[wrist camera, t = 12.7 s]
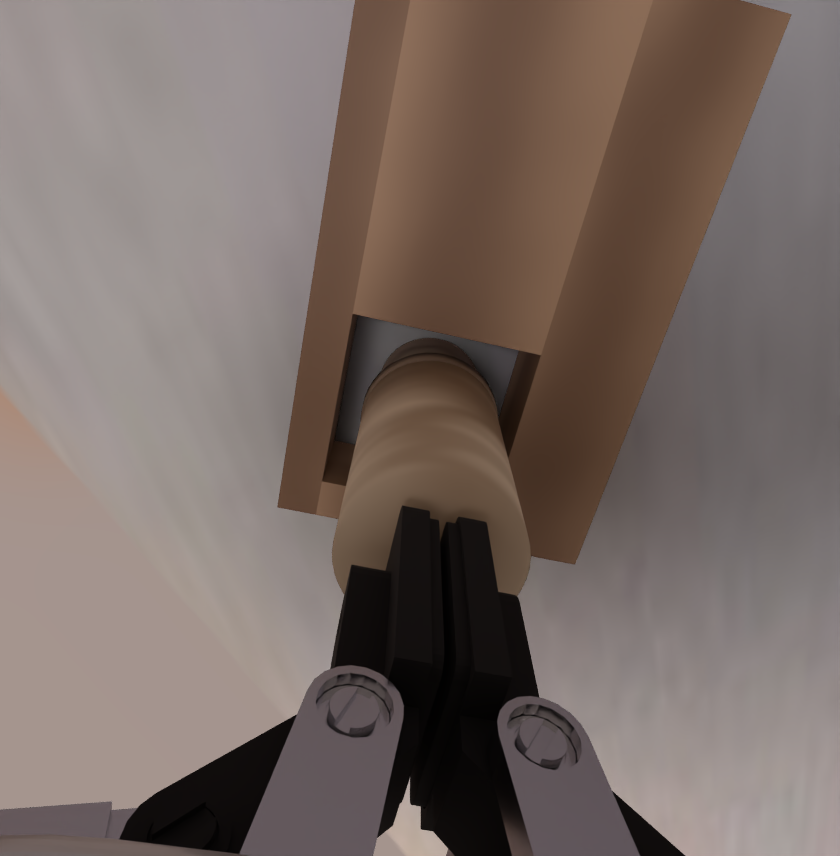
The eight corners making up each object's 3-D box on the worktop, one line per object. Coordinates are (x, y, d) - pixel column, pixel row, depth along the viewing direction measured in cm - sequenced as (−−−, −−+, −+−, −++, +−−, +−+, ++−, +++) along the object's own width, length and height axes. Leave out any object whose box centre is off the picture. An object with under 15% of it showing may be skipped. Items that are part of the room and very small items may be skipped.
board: (734, 33, 18) (791, 14, 15) (557, 516, 24) (574, 564, 21) (379, -63, 17) (371, -103, 14) (294, 463, 23) (277, 507, 21)
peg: (502, 342, 21) (559, 493, 12) (471, 449, 23) (501, 653, 14) (381, 315, 21) (349, 450, 12) (359, 426, 23) (315, 620, 14)
